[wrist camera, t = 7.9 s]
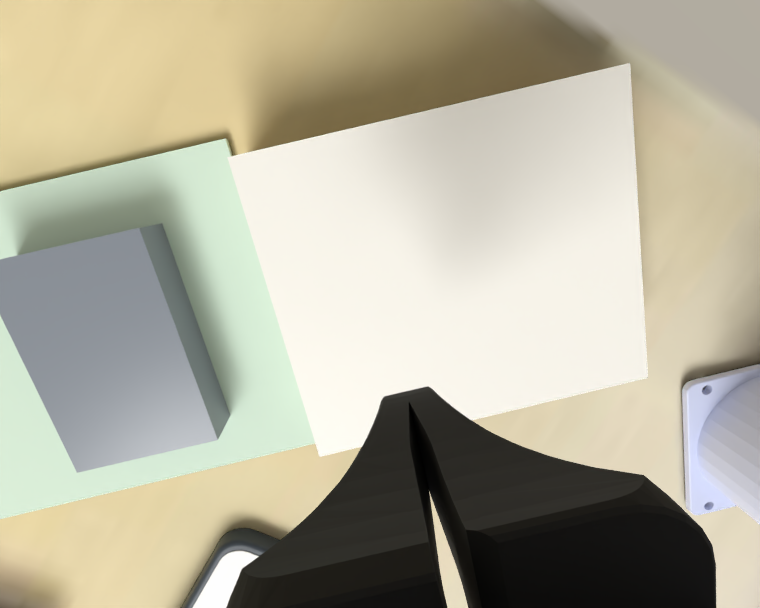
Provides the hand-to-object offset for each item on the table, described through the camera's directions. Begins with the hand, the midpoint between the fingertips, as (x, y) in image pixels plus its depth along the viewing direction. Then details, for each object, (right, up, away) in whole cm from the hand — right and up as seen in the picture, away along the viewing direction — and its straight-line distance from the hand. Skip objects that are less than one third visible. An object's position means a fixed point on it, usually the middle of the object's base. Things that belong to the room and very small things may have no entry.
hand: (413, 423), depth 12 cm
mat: (-13, +1, +7) cm, 15 cm away
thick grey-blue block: (-12, +1, +5) cm, 13 cm away
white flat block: (+2, +5, +7) cm, 9 cm away
